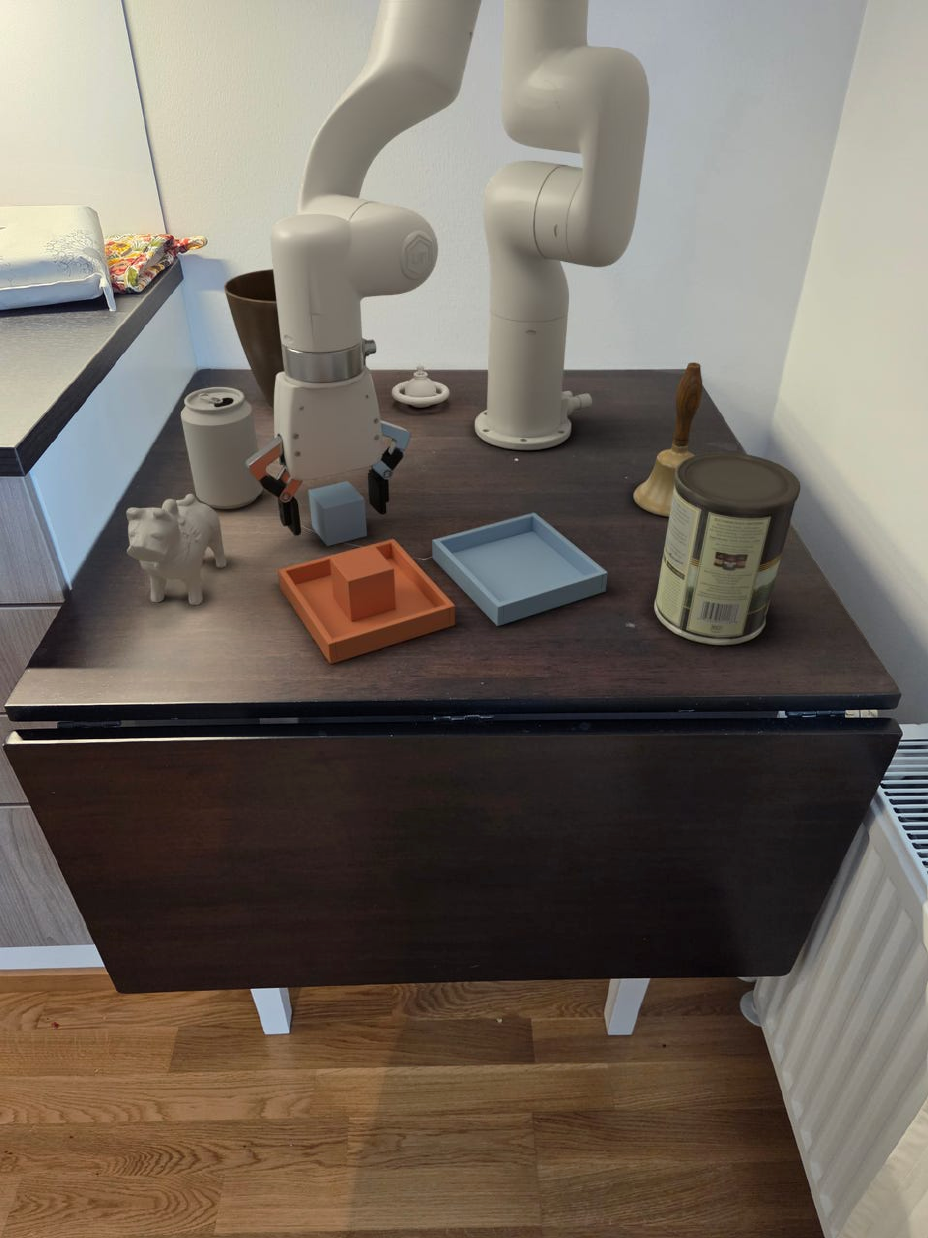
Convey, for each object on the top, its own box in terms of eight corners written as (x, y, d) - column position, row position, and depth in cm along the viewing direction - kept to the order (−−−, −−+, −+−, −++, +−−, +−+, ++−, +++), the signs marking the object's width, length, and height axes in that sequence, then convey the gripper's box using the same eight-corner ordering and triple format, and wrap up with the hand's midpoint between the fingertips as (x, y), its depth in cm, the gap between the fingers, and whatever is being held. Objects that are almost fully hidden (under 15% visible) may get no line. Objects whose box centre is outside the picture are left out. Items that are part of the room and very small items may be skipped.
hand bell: (720, 499, 100) (748, 362, 90) (682, 526, 95) (708, 384, 85) (658, 476, 104) (678, 344, 95) (619, 501, 99) (636, 363, 90)
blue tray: (533, 530, 94) (534, 512, 93) (605, 591, 85) (608, 572, 83) (432, 558, 89) (431, 539, 88) (497, 626, 80) (498, 607, 78)
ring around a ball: (382, 410, 119) (437, 418, 117) (381, 369, 116) (437, 377, 114) (404, 391, 125) (457, 399, 123) (404, 352, 122) (457, 359, 120)
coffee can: (728, 575, 87) (757, 444, 79) (787, 635, 79) (826, 497, 71) (634, 591, 85) (654, 458, 76) (685, 655, 77) (713, 514, 68)
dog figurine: (130, 626, 80) (102, 524, 73) (183, 551, 90) (162, 457, 83) (186, 630, 79) (162, 528, 73) (233, 555, 89) (215, 460, 83)
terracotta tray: (394, 557, 89) (393, 538, 88) (455, 625, 80) (455, 605, 79) (280, 588, 85) (277, 569, 83) (330, 664, 75) (328, 644, 74)
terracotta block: (376, 585, 84) (374, 545, 82) (396, 608, 81) (394, 568, 79) (333, 597, 83) (329, 557, 80) (351, 622, 79) (348, 581, 77)
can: (248, 516, 96) (232, 412, 89) (185, 508, 97) (164, 406, 90) (274, 484, 102) (260, 385, 95) (214, 478, 103) (196, 380, 96)
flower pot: (364, 387, 126) (356, 272, 117) (328, 428, 115) (317, 304, 105) (267, 377, 129) (253, 264, 120) (223, 417, 117) (203, 295, 108)
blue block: (350, 517, 96) (347, 480, 93) (367, 536, 93) (364, 498, 90) (312, 527, 94) (308, 489, 91) (327, 546, 91) (323, 508, 88)
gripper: (390, 335, 88) (395, 487, 98) (221, 361, 81) (246, 522, 91) (423, 357, 83) (425, 516, 93) (245, 387, 76) (268, 555, 86)
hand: (336, 519), depth 92 cm, fingers open, 9 cm apart
